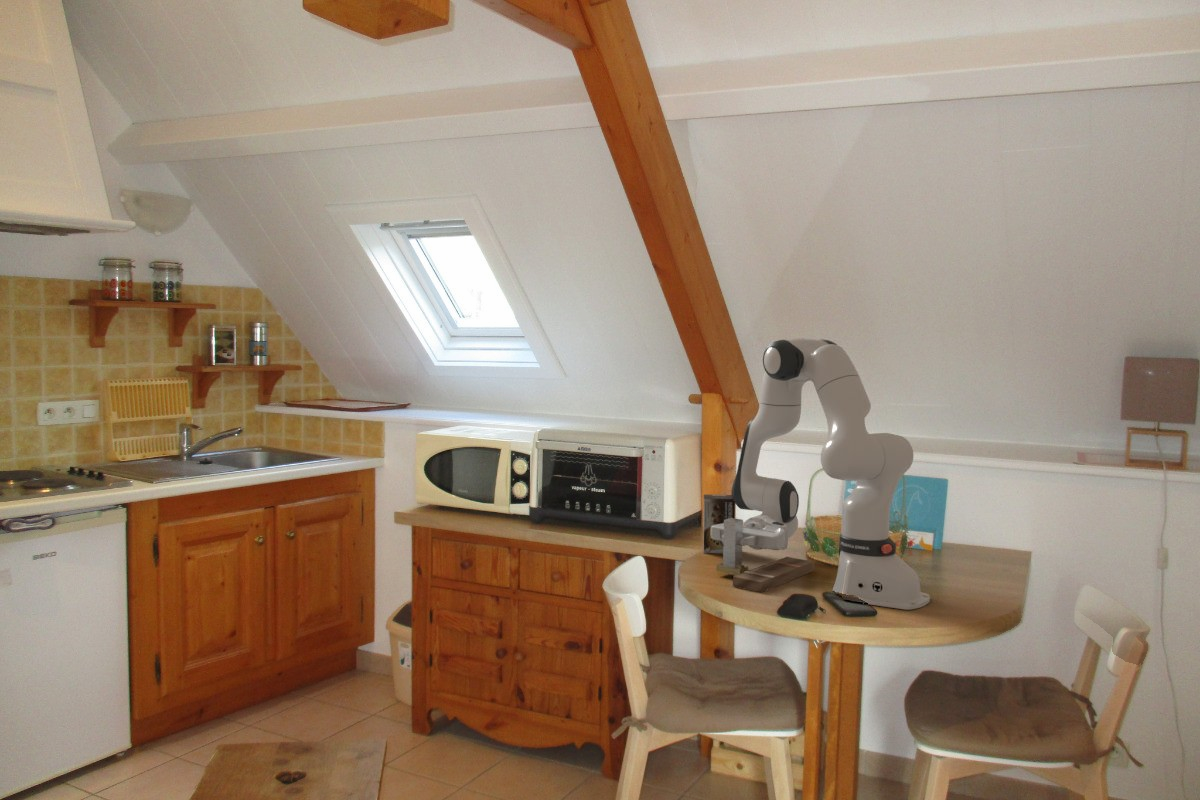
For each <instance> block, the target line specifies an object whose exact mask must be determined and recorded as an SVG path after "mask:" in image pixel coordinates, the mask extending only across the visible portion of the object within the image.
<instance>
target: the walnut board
mask: <svg viewBox="0 0 1200 800" xmlns="http://www.w3.org/2000/svg"><path fill="white" fill-rule="evenodd" d="M814 571H815V561H814V560H807V559H802V558H797V557H790V556H786V557H782V558H780V559H777V560H773V561H771V562H769V563H765V564H763V565H760V566H758V567H755V568H753V569H750V570H749V569H748V571H745V572H744V573H741V574H738V575H736V574H735V575H733V576H732V587H733V586H735V587H734V588H738V587H740V588H739V589H743V588H745V589H744V590H747V589H749V590H748V591H752V590H754V592H757V591H759V592H758V593H763V592H765V590H766V591H768V590H770V588H771V589H773V588H775V587H778V586H780V585H782V584H785V583H787V582H790V581H792V580H795V579H797V578H799V577H802V576H804V575H807V574H810V573H811V572H814ZM767 589H768V590H767ZM762 591H763V592H762Z"/></svg>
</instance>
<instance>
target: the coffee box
mask: <svg viewBox="0 0 1200 800" xmlns="http://www.w3.org/2000/svg"><path fill="white" fill-rule="evenodd" d="M702 512H703V516H702V517H703V519H702V520H703V521H702V524H703V525H702V528H703V530H702V531H703V532H702V533H703V534H702V536H703V537H702V552H703V554H722V555H723V544H724V542H722V541H720V540H714V539H712V538H711V526H713V525H717V524H722V523H724V520H726V519H729V518H735V519H736V504H735V502H734V500H733V498H732V496H731V494H703V511H702Z"/></svg>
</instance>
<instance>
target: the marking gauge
mask: <svg viewBox="0 0 1200 800" xmlns="http://www.w3.org/2000/svg"><path fill="white" fill-rule="evenodd" d="M743 524H744V519H741V518H736V517H735V518H729V519H726V520H724V544H723V554H722V556H723V557H722V562H720V563H718V564H716V571H718V572H722V573H726V574H731V575H735V576H736V575H738V574H741V573H744V572H745V571H749V565H748V566H747V565H743V546H740V545H738V539H739V538H742V537H743Z"/></svg>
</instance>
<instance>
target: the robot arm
mask: <svg viewBox="0 0 1200 800" xmlns="http://www.w3.org/2000/svg"><path fill="white" fill-rule="evenodd" d="M762 364H763V369H764V373H763V375H762V376H763V377H762V381H761V388H760V396H759V407H758V411H757V414H756V415H755V417H754V418H752V419H751V420H749V422H748V424H747V427H746V429H745V433H744V437H743V441H742V446H741V450H740V456H739V460H738V466H737V471H736V474H735V476H734V480H733V483H732V486H731V492H730V495H731V496H732V498H733V500H734V502H735V506H736V507H737V508H739V509H740V510H745V511H746V510H747V511H758V512H761V513H760V514H758V515H754V516H752V517H749V518H748V519H746V520H745V521H744V522H743V537H742V538H739V539H738V545H740V546H742V547H745V546H748V547H749V548H751V549H753V550H757V551H758V550H759V551H760V550H763V549H764V550H771V551H780V550H781V551H782V550H783V551H784V550H787V549H788V545H789V539H790V538H792V537H793V536H794V535H795V534H796V532H797V530H798V527H799V520H798V516H797V514H798V510H799V505H800V501H799V499H800V498H799V492H798V491H797V489H796V487H795V485H794V484H793V483H792V482H791V481H790V480H785V479H780V478H772V477H767V476H762V475H758V473H757V468H758V463H759V458H760V453H761V449H762V445H763V444H764V443H765V442H766V441H767V440H768V441H769V440H770V439H773V438H777V437H781V436H783V435H787V434H788V433H790V432H792V431H793V430H794V429H796V427H797V425H799V422H800V419H801V414H802V391H803V386H804V385H805V383H807V382H810V381H811V382H812V383H813V386H814V388H815V391H816V394H817V395H818V399H819V402H820V405H821V407H822V410H823V413H824V416H825V418H826V423H827V431H828V432H827V439H826V442H825V443H824V445H823V446H822V448H821V452H820V464H821V466H822V469H823V471H824V472H825V474H826V475H827V476H828V477H830V478H831V479H834V480H835V479H836V480H840V481H845V482H846V481H847V482H855V481H856V484H855V486H854V488H853V489H852V491H851V493H850V494H849V495H848V496H847V497H845V499H844V500H843V502H842V506H841V533H839V537H838V538H839V539H838V556H839V562H838V567H837V573H836V578H835V582H834V585H833V587H832V592H833V591H835V592H839V593H842V594H846V595H854V596H856V597H858V598H859V599H861V600H863V601H865V602H867V603H868V604H867V605H871V606H872V605H873V606H878V607H879V606H880V607H884V608H885V607H886V608H891V609H893V608H894V609H898V610H899V609H900V610H906V611H908V610H916V609H919V608H922V607H925V606H926V605H928V604H929V603H930V602H931V597H930V595H929V593H926V592H922V591H921V582H920V578H919V575H918V573H917V572H916V571H915V570H914V569H913V568H912V567H910V565H908V564H907V563H906V562H905V561H904V560H903V559H902V558H900V557H899V555H897V552H896V551H897V550H896V549H897V547H898V546H899V541H894V540H892V538H891V537H890V536H889V534H890V533H889V531H890V517H891V515H890V514H891V506H892V501H893V499H894V496H895V492H896V489H897V487H898V485H899V483H900V481H901V478H902V477H903V475H904V474H905V473H906V472H908V471H909V469H910V468H911V466H912V464H913V461H914V449H913V446H912V445H911V443H910V441H909V440H908V439H907V438H906V437H904V436H902V435H899V434H895V433H894V434H893V433H891V432H890V433H889V432H878V433H876V432H875V433H869V432H868V430H867V428H866V423H865V422H866V421H865V420H866V419H865V418H866V417H867V416H868V414H869V413H870V411H871V405H872V404H871V401H870V398H869V397H868V394H867V391H866V389H865V387H864V384H863V382H862V380H861V378H860V377H861V376H860V375H859V372H858V371H857V369H856V367H855V365H854V362H853V361H852V360H851V358H850V356H849V355H848V354H847V352H846V350H845V349H844V348H843V347H842V346H840V345H839V344H837V343H836V342H834V341H831V340H828V339H824V338H823V339H821V338H820V339H813V338H791V339H779V340H775V341H773V342H771V343H769V344H768V345H767V346H766V348H765V349H764V352H763V356H762ZM711 538H712V539H714V540H720V541H722V542H724V523H722V524H717V525H713V526H711Z"/></svg>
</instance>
